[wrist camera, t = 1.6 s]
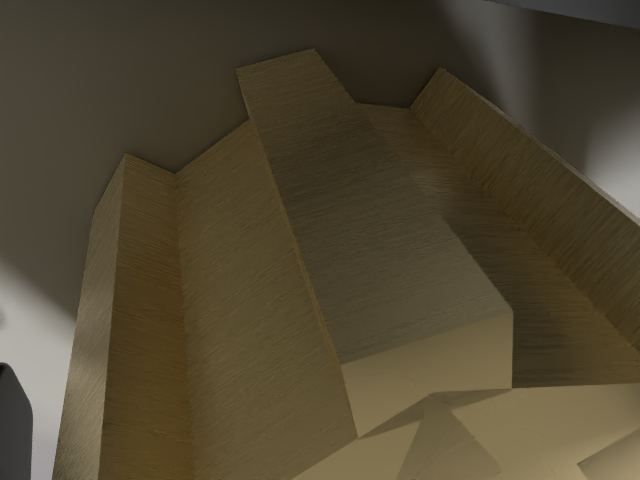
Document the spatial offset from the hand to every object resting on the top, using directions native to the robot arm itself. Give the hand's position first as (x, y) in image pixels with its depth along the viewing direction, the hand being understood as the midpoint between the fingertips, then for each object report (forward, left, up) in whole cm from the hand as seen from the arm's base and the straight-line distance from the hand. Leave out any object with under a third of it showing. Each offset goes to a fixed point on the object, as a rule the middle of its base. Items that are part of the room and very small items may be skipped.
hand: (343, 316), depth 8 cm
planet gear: (0, 0, -1) cm, 1 cm away
